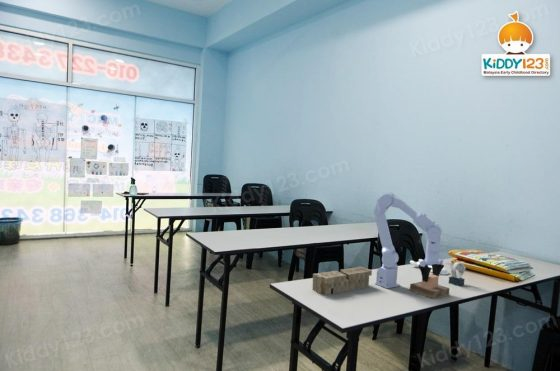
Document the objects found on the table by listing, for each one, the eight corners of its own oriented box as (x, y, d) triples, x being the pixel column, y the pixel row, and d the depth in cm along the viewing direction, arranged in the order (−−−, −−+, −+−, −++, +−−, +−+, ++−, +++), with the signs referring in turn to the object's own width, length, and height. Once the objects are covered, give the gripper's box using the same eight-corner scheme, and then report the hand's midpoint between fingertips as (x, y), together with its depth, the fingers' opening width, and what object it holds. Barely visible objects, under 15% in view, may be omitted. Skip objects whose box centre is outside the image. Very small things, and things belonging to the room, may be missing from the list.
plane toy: (441, 276, 204) (442, 265, 203) (409, 266, 220) (410, 256, 220) (452, 274, 210) (453, 263, 209) (420, 264, 226) (421, 255, 226)
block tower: (322, 298, 164) (371, 286, 180) (323, 278, 163) (372, 269, 179) (311, 292, 171) (359, 281, 186) (312, 273, 170) (360, 264, 186)
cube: (431, 288, 172) (432, 277, 172) (421, 285, 176) (422, 274, 176) (437, 287, 175) (438, 276, 175) (428, 283, 179) (428, 273, 179)
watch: (466, 284, 191) (468, 262, 191) (457, 286, 187) (459, 264, 186) (455, 281, 196) (457, 260, 195) (446, 283, 191) (448, 261, 191)
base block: (432, 298, 167) (433, 292, 167) (409, 290, 177) (410, 283, 177) (448, 294, 174) (449, 288, 174) (425, 286, 184) (426, 280, 184)
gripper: (430, 254, 167) (428, 285, 168) (450, 251, 175) (447, 280, 176) (416, 250, 173) (414, 280, 174) (436, 248, 181) (433, 276, 182)
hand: (430, 280), depth 175 cm, fingers open, 7 cm apart
